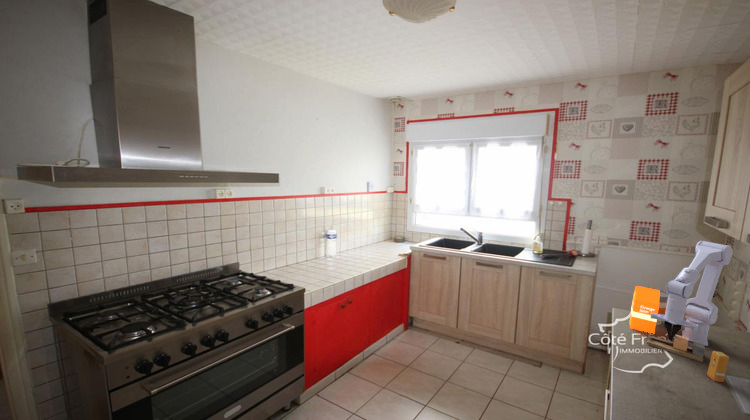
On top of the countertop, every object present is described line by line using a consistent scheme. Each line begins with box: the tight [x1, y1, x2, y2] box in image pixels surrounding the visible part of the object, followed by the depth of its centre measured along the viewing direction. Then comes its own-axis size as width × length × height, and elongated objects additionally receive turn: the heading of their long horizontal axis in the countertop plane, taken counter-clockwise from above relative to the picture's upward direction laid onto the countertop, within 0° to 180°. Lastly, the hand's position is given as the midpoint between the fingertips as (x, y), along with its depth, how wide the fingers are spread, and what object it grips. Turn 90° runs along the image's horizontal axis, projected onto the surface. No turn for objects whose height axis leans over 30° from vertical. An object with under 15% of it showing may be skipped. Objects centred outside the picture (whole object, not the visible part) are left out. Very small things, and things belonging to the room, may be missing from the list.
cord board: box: [646, 333, 706, 363], centre depth 135 cm, size 9×17×5 cm, turn 46°
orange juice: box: [628, 285, 661, 335], centre depth 150 cm, size 8×9×20 cm
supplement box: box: [706, 350, 730, 383], centre depth 116 cm, size 3×3×10 cm
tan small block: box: [673, 334, 689, 351], centre depth 133 cm, size 5×4×4 cm
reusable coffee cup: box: [645, 286, 668, 326], centre depth 158 cm, size 13×13×15 cm
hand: (670, 339), depth 135 cm, fingers closed
